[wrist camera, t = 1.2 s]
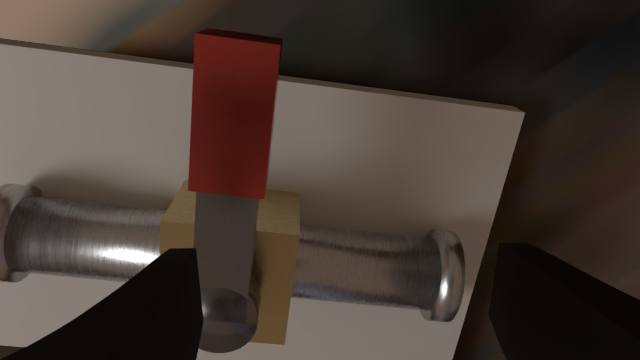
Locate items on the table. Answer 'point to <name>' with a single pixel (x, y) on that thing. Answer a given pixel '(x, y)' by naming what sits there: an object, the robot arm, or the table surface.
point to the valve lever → (230, 175)
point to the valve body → (268, 263)
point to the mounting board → (284, 175)
